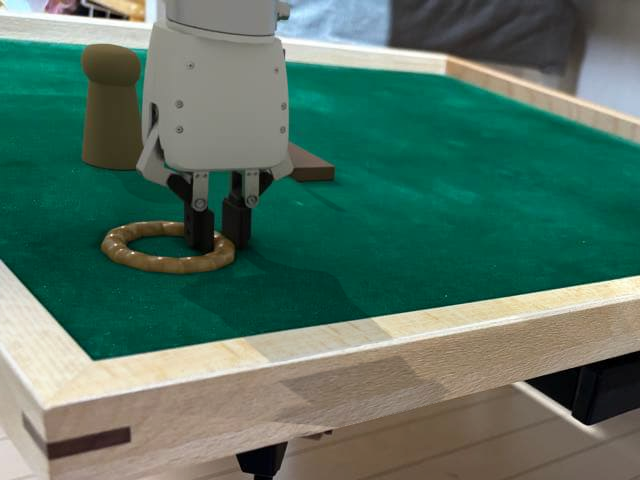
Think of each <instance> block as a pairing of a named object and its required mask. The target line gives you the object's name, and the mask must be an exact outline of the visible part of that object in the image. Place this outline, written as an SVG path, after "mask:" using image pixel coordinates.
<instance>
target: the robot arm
mask: <svg viewBox="0 0 640 480" xmlns="http://www.w3.org/2000/svg"><path fill="white" fill-rule="evenodd" d="M164 1H165V5H164V6H165V21H154V22H153V24H152V27H151V32H150V37H149V43H148V49H147V54H146V62H145V68H144V69H145V70H144V79H143V89H142V108H141V110H142V111H141V122H142V141H143V146H144V149H143V151H142V154H141V156H140V158H139V161H138V163H137V165H136V169H135V171H136V173H137V174H138V175H139V176H141V177H142V178H144V179H145V180H147V181H150V182H152V183H154V184H158V185H159V186H162V187H165V188H168V189H169V190H170V191H171V192H172V193H174V194H175V195H176V196H177V198H178V199H179V200H180V201H182V202H183V223H184V241H185V243H186V244H187V245H188V247H197V248H198V249H199V250H200V251H202V252H203V253H204V254H205V255H206V254H208V253H211V252H213V251H214V230H215V213H214V211H213V210H211V209H210V208H209V183H210V182H209V180H210V172H228V196H223V200H222V201H221V235H223V236H224V237H226V238H227V239H228V240H230V241H231V242H232V243H233V244H234V246H235V250H237V251H248V245H249V244H248V243H249V241H251V236H252V211H253V209H255V208H256V207H258V204H259V202H260V197H261V196H262V195H263V194H264V193H265V192H266V191H267V189H269V188H270V187H271V186H272V184H273V182H277V181H280V180H281V179H283V178H286V177H288V176H287V175H289V174H291V173H292V171H293V164H292V161H291V158H290V156H289V153H288V150H287V148H288V141H289V133H290V132H289V131H290V129H289V128H290V113H289V112H290V109H289V108H290V107H289V106H290V105H289V88H288V87H289V86H288V76H287V75H288V74H287V67H286V58H285V59H284V53H283V48H284V47H283V42H282V39H280V38H279V37H277V36H276V32H277V30H278V22H280V21H288V20H289V19H290V18H291V7H290V4H289V3H288V1H285V0H284V1H282V0H164ZM165 164H166V165H167V166H168V167H169V168H171V169H169V168H167V167H165ZM174 170H175V171H174ZM176 171H177V172H176Z"/></svg>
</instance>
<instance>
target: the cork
mask: <svg viewBox="0 0 640 480" xmlns="http://www.w3.org/2000/svg"><path fill="white" fill-rule="evenodd" d="M80 65H81V68H82V72H83V74H84V75H85V76H86V78H87V79H88V84H87V95H86V105H85V119H84V127H83V140H82V149H81V150H82V151H81V160H82V162H83V163H86V164H87V165H90V166H92V167H93V166H94V167H97V168H101V169H108V170H118V171H120V170H121V171H129V170H130V171H131V170H136V165H137V163H138V161H139V158H140V156H141V154H142V151H143V149H144V146H143V141H142V115H141V110H140V104H139V98H138V92H137V87H136V85H137V83H138V82H139V80H140V78H141V74H142V63H141V60H140V57H139V56H138V54H137V53H136V52H135V51H134V50H132V49H130V48H128V47H124V46H122V45H118V44H114V43H91V44H89V45H87V46H85V48H84V49H83V50H82V53H81V57H80Z"/></svg>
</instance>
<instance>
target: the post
mask: <svg viewBox="0 0 640 480" xmlns="http://www.w3.org/2000/svg"><path fill="white" fill-rule="evenodd" d="M286 51H287V50H286V48H284V47H283V53H284V59H285V60H286ZM287 150H288V153H289V156H290V158H291V161H292V164H293V171H292V173H291V174H289V175H287V176H286V177H289V178H291V179H292V180H294V181H295V182H309V181H310V182H311V181H331V180H333V181H334V180H335V177H336V176H335V174H336V166H335V165H333V164H332V163H329V162H328V161H326V160H324V159H323V158H321V157H318V156H317V155H315V154H313V153H311V152H309V151H308V150H306V149H304V148H302V147H300V146H298V145H297V144H295V143H293V142H291V141H289V140H288V148H287Z"/></svg>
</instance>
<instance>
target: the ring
mask: <svg viewBox="0 0 640 480" xmlns="http://www.w3.org/2000/svg"><path fill="white" fill-rule="evenodd" d="M152 236H153V237H154V236H172V237H184V222H179V221H170V220H169V221H168V220H150V221H137V222H129V223H126V224H124V225H121V226H118V227H115V228H113V229H110V230H108V232H107V233H106V235H105V237H104V239H103V241H102V242H101V244H100V250H101V251H102V252H103V253H104V254H105V255H106V256H107V257H109V259H111V260H112V261H113V262H115V263H117V264H121V265H124V266H128V267H130V268H135V269H138V270H141V271H144V272H145V271H146V272H157V273H168V274H181V275H182V274H192V273H200V272H208V271H209V272H210V271H215V270H218V269H220V268H223V267H224V266H226V265H229V264H231V263H232V262H234V261H235V255H236V248H235V246H234V244H233V243H232V242H231V241H230V240H228V239H227V238H226V237H224V236H223V235H222V233H220V232H219V231H217V230H215V229H214V251H213V252H211V253H208V254H206V253H205V254H204V255H195V256H186V257H185V256H184V257H171V256H160V255H150V254H145V253H143V252H139V251H137V250H133V249H130V248H129V247H128V246H127V245H128V242H131V241H134V240H136V239H139V238H142V237H152Z"/></svg>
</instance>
